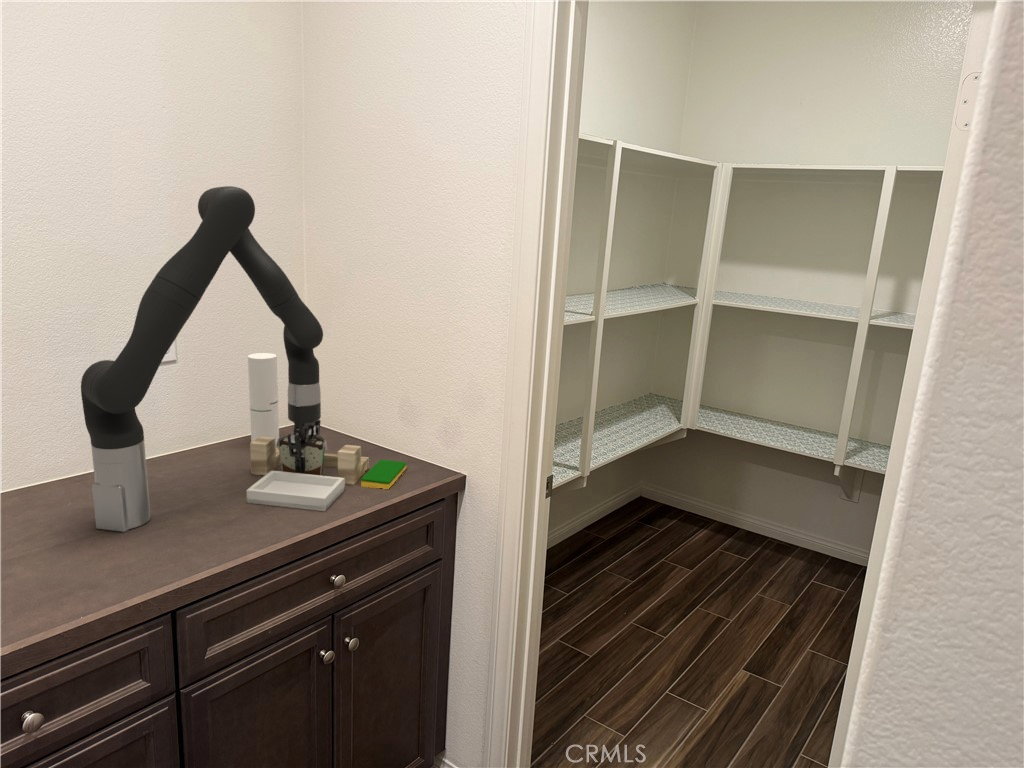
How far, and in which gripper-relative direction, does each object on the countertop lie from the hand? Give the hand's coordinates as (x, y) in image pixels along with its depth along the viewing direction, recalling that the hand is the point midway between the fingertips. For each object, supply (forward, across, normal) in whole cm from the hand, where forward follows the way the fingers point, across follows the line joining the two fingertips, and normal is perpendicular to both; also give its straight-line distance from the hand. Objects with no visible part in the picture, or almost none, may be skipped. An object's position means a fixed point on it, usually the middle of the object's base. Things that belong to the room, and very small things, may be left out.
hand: (305, 466), depth 169 cm
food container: (+3, -1, 0) cm, 3 cm away
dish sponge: (+3, -4, +19) cm, 19 cm away
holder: (+2, -3, 0) cm, 4 cm away
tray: (+3, +11, +3) cm, 12 cm away
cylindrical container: (+3, -18, -19) cm, 26 cm away
